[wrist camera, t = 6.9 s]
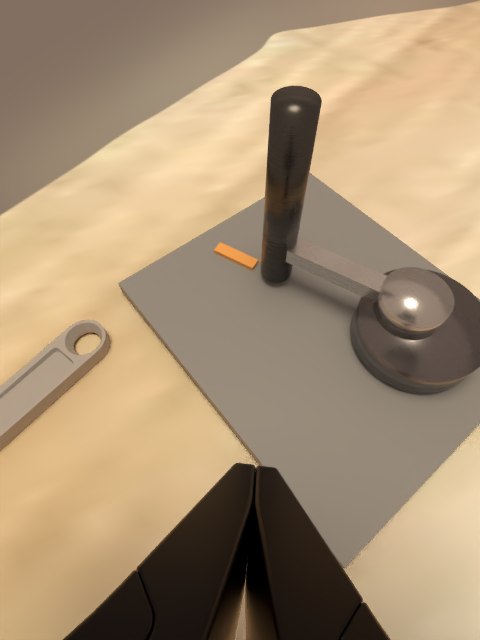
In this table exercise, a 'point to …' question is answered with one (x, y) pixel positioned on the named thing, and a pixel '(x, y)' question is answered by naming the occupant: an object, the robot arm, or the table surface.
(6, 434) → the adjustable wrench
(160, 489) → the table surface
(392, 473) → the level stand
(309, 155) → the crank handle
